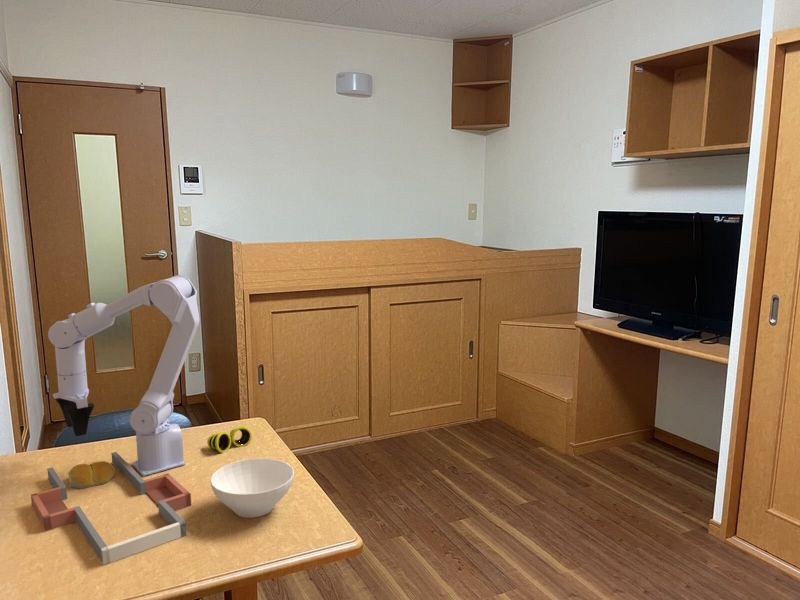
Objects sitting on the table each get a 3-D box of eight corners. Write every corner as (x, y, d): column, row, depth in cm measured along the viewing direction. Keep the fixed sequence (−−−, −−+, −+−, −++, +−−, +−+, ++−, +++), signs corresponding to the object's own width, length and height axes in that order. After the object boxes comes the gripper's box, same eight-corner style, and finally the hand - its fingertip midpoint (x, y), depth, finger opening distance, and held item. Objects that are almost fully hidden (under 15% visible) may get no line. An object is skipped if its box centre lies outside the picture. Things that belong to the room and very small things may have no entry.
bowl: (241, 539, 107) (240, 503, 106) (196, 509, 118) (194, 475, 117) (311, 507, 119) (310, 474, 118) (264, 482, 130) (263, 451, 129)
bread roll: (117, 482, 129) (116, 465, 129) (70, 493, 124) (68, 475, 124) (111, 468, 136) (110, 451, 135) (66, 478, 131) (65, 460, 131)
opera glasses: (243, 442, 153) (240, 423, 153) (253, 444, 150) (250, 424, 149) (207, 453, 147) (204, 433, 147) (217, 455, 143) (214, 434, 143)
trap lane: (139, 456, 142) (138, 446, 142) (212, 525, 112) (212, 513, 111) (21, 486, 127) (20, 475, 126) (70, 577, 96) (68, 562, 96)
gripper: (44, 368, 136) (49, 425, 138) (59, 383, 126) (64, 444, 128) (78, 363, 141) (82, 418, 143) (95, 376, 130) (100, 436, 132)
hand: (76, 430), depth 136 cm, fingers open, 6 cm apart
